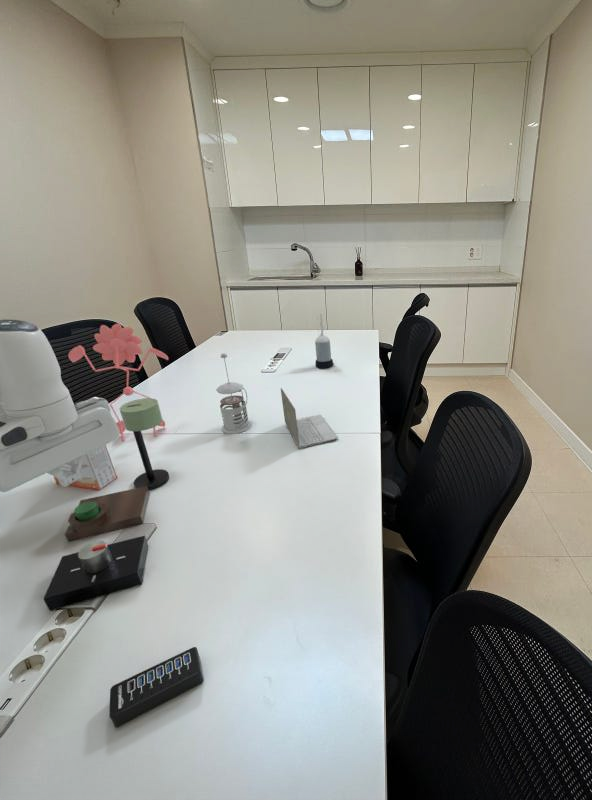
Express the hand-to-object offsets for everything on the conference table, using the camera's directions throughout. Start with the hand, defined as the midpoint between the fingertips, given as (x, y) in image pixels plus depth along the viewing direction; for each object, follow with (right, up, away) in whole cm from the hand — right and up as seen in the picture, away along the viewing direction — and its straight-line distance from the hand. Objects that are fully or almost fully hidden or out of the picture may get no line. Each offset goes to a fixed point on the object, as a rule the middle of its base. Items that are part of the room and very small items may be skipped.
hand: (71, 482), depth 72 cm
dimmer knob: (+5, -15, 0) cm, 16 cm away
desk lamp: (-1, -6, +28) cm, 29 cm away
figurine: (-19, +5, +55) cm, 59 cm away
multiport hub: (+26, -25, -17) cm, 40 cm away
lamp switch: (-5, -9, +11) cm, 16 cm away
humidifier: (+33, +31, +110) cm, 119 cm away
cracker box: (-18, -6, +29) cm, 35 cm away
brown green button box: (-4, -11, +16) cm, 20 cm away
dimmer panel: (+5, -18, +1) cm, 19 cm away
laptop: (+36, +5, +51) cm, 63 cm away
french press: (+12, +7, +56) cm, 58 cm away
